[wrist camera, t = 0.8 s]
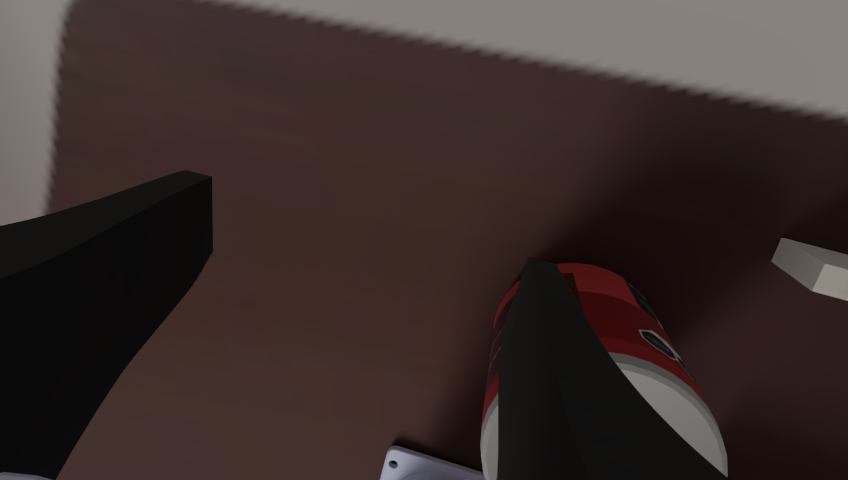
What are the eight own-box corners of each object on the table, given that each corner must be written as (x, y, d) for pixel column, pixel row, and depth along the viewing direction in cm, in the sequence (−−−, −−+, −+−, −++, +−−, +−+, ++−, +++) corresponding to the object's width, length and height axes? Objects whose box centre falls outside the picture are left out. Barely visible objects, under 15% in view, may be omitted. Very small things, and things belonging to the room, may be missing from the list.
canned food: (639, 408, 30) (703, 585, 20) (485, 384, 31) (466, 539, 21) (669, 268, 28) (759, 382, 17) (502, 247, 29) (492, 342, 18)
